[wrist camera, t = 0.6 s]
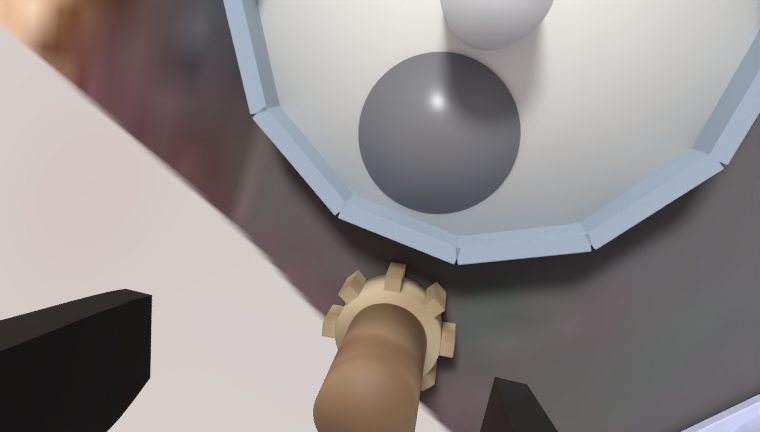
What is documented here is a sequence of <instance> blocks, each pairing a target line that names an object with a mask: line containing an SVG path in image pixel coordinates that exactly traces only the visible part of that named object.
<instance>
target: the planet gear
mask: <svg viewBox="0 0 760 432" xmlns="http://www.w3.org/2000/svg"><path fill="white" fill-rule="evenodd" d="M405 270H406V264H400V263H393V262H391V263H390V266H389V268H388V271H387V273H386V275H380V276H376V277H372V278H370V279H368V280H366V278H365V277H364V276H363V275H362V274H361V272H360V271H359V270H358V271H356V272H355V273H354V274H352V275H351V276H350V277H348V278H347V280H346V281H345V283H344V285H343V287H342V288H341V290H340V292H339V294H338V295H339V296H340V297H341V298H342V299H343V300H344V302H345V303H346V304H345V306H340V305H332V307H331V309H330V310H329V312H328V314H327V316H326V318H325V319H324V321H323V329H322V336H325V337H332V338H335V339H336V345H337V348H338V352H337V354H336V356H335V359H334V360H333V363H332V365H331V367H330V370H329V372H328V374H327V376H326V378H325V380H324V383H323V385H322V387H321V389H320V391H319V393H318V396H317V398H316V400H315V404H314V409H313V416H314V422H315V425H316V428H317V430H318V432H415V425H416V419H417V411H418V405H419V398H420V391H422V392H423V391H424V390H426V389H428V388H429V387H431V386H433V385H434V384H435V377H436V366H437V362H436V361H437V358H438V356H439V355H440V356H446V357H452V358H453V353H454V346H455V326H456V324H455V323H448V322H443V325H442V315H441V313H442V312H444V311H445V303H446V292H445V291H444V289H443V288H442V287H441V286H440V285H439V283H438V282H435V283H434V284H432V285H431V286H429V287H428V288H427V289H426V288H425V287H424V286H422V285H421V284H419V283H418V282H416V281H414V280H412V279H410V278H407V277H405ZM439 352H440V353H439Z"/></svg>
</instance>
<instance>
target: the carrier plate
mask: <svg viewBox="0 0 760 432" xmlns="http://www.w3.org/2000/svg"><path fill="white" fill-rule="evenodd" d="M223 1H224V5H225V9H226V13H227V18H228V22H229V26H230V30H231V34H232V39H233V43H234V47H235V51H236V56H237V60H238V64H239V68H240V72H241V77H242V81H243V85H244V89H245V93H246V98H247V102H248V106H249V110H250V114H254V113H257V114H256V115H255V116H254V117H253V119H254V121H255V122H256V123H257V124H258V125H259V126H260V128H261V129H262V130H263V131H264V132H265V134H266V135H267V136H268V137H269V138H270V139H271V141H272V142H273V143H274V144H275V145H276V147H277V148H278V149H279V150H280V151H281V152H282V154H283V155H284V156H285V157H286V158H287V160H288V161H289V162H290V163H291V164H292V166H293V167H294V168H295V169H296V170H297V171H298V173H299V174H300V175H301V176H302V177H303V179H304V180H305V181H306V182H307V183H308V184H309V186H310V187H311V188H312V189H313V190H314V192H315V193H316V194H317V195H318V196H319V197H320V199H321V200H322V201H323V202H324V203H325V205H326V206H327V207H328V208H329V209H330V210H331V212H332V213H333V214H334V215H336V214H337V213H339V212H340V214H339V216H338V218H340V219H342V220H345V221H347V222H350V223H352V224H355V225H357V226H360V227H362V228H365V229H367V230H369V231H372V232H374V233H377V234H379V235H382V236H384V237H387V238H389V239H392V240H394V241H397V242H399V243H402V244H404V245H407V246H409V247H412V248H414V249H417V250H419V251H422V252H424V253H427V254H429V255H432V256H434V257H437V258H439V259H442V260H444V261H447V262H449V263H452V264H454V263H455V261H456V259H457V261H458V265H463V264H473V263H482V262H492V261H502V260H512V259H522V258H532V257H541V256H551V255H561V254H571V253H581V252H590V251H591V245H592V246H593V247H594V249H595V250H596V249H598V248H599V247H601V246H603V245H604V244H606V243H607V242H609V241H610V240H612V239H614V238H615V237H617V236H618V235H620V234H621V233H623V232H625V231H626V230H628V229H629V228H631V227H633V226H634V225H636V224H637V223H639V222H640V221H642V220H644V219H645V218H647V217H648V216H650V215H651V214H653V213H655V212H656V211H658V210H659V209H661V208H663V207H664V206H666V205H667V204H669V203H670V202H672V201H674V200H675V199H677V198H678V197H680V196H681V195H683V194H685V193H686V192H688V191H689V190H691V189H693V188H694V187H696V186H697V185H699V184H700V183H702V182H704V181H705V180H707V179H708V178H710V177H711V176H713V175H715V174H716V173H718V172H719V171H721V170H722V169H724V168H723V167H722V165H721V164H720V162H721V163H724V164H727V165H728V163H729V162H730V160H731V159H732V157H733V155H734V154H735V152H736V150H737V149H738V147H739V145H740V144H741V142H742V140H743V139H744V137H745V136H746V134H747V132H748V131H749V129H750V127H751V126H752V124H753V122H754V121H755V119H756V118H757V116H758V114H759V113H760V0H223Z"/></svg>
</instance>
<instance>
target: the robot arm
mask: <svg viewBox="0 0 760 432" xmlns="http://www.w3.org/2000/svg"><path fill="white" fill-rule="evenodd" d="M151 309H152V295H149V294H145V293H141V292H136V291H132V290H128V289H122V290H116V291H111V292H106V293H102V294H97V295H94V296H90V297H86V298H82V299H78V300H74V301H70V302H67V303H63V304H59V305H56V306H52V307H48V308H45V309H41V310H38V311H34V312H30V313H26V314H23V315H19V316H16V317H12V318H8V319H4V320H0V432H107V431H108V430H109V429H110V428H111V427H112V426H113V425H114V424H115V423H116V421H117V420H118V419H119V418H120V417H121V416H122V414H123V413H124V412H125V411H126V409H127V408H128V407H129V405H130V404H131V403H132V401H133V400H134V399H135V398H136V396H137V395H138V394H139V392H140V391H141V390H142V388H143V387H144V385H145V384H146V383H147V381H148V380H149V379H150V361H151V360H150V359H151V312H152V310H151ZM480 432H558V431H557V430H556V428H555V427H554V425H553V424H552V422H551V421H550V419H549V418H548V416H547V414H546V413H545V411H544V410H543V408H542V407H541V405H540V404H539V402H538V401H537V399H536V398H535V396H534V394H533V393H532V391H531V390H530V388H529V387H528V385H527V384H522V383H518V382H514V381H510V380H506V379H501V378H497V377H495V379H494V382H493V386H492V390H491V393H490V397H489V401H488V405H487V408H486V412H485V416H484V419H483V423H482V427H481V430H480ZM681 432H760V394H759V395H756V396H754V397H752V398H750V399H748V400H746V401H744V402H742V403H740V404H738V405H736V406H733V407H731V408H729V409H727V410H725V411H723V412H721V413H719V414H717V415H715V416H713V417H711V418H708V419H706V420H704V421H702V422H700V423H698V424H696V425H694V426H692V427H690V428H688V429H686V430H683V431H681Z"/></svg>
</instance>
